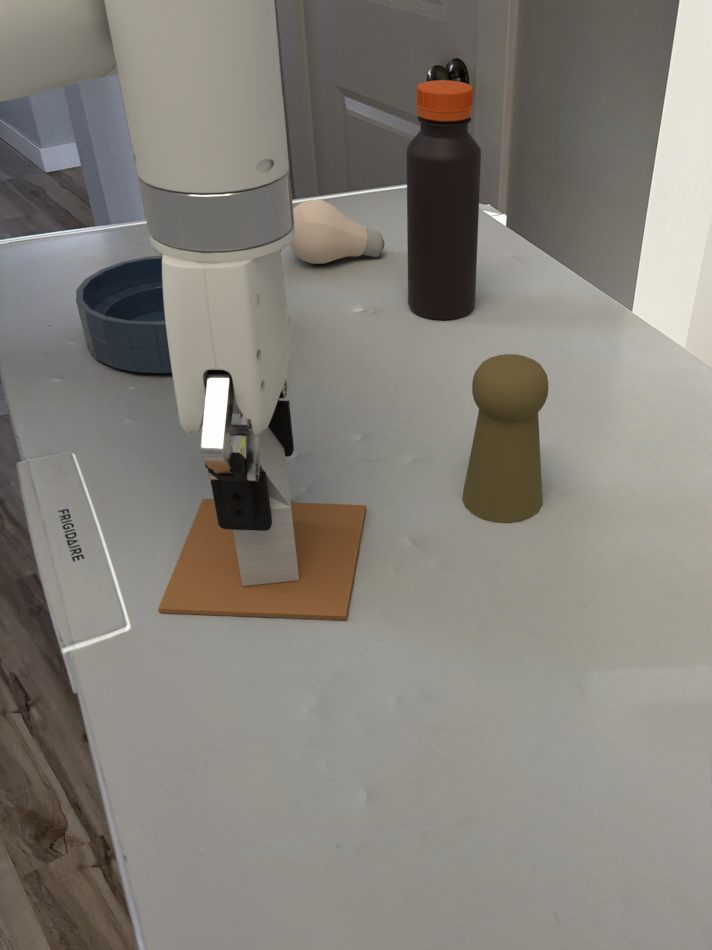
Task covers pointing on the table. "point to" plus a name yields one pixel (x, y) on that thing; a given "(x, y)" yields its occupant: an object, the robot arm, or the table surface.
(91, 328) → the bowl
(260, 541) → the white milk carton
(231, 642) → the table surface
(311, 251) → the light bulb
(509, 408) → the pepper shaker
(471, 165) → the bottle
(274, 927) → the table surface
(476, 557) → the table surface
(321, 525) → the mat
